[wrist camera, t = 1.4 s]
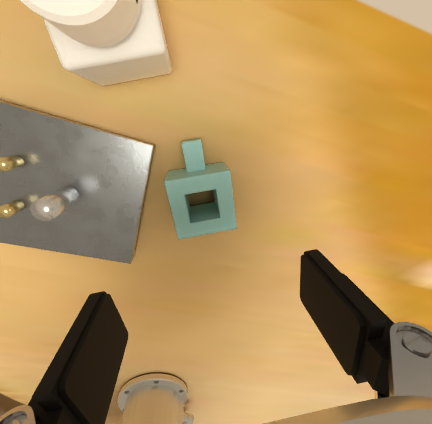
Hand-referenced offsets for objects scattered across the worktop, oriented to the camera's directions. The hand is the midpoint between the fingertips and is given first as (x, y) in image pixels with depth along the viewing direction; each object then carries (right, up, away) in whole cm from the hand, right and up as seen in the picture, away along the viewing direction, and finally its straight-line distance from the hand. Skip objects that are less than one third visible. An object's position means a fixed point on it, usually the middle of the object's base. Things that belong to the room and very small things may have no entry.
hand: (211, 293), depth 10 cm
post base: (-16, +6, +14) cm, 22 cm away
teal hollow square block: (-2, +8, +15) cm, 17 cm away
